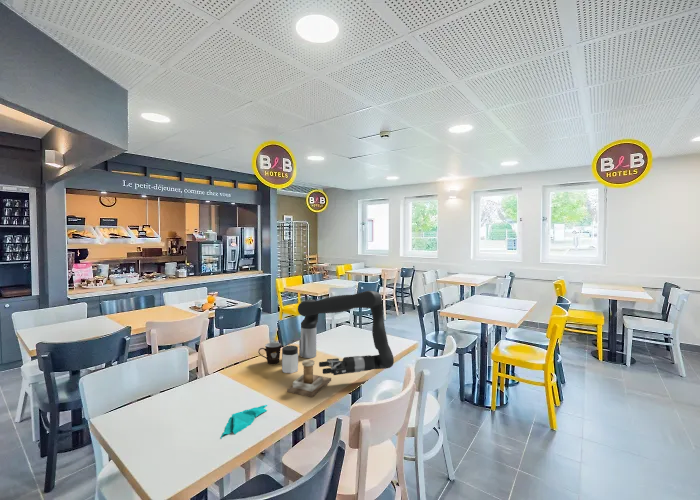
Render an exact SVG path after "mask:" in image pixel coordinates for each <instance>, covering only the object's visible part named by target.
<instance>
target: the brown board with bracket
mask: <svg viewBox="0 0 700 500" xmlns="http://www.w3.org/2000/svg"><path fill="white" fill-rule="evenodd" d="M303 381H304V373H303V374H302V375H301V376H299V377H298V378H296V379H295V380H294V381H292V385H291V386H290V387H288V388H287V390H286V391H287V393H292V394H296V395H301V396H305V397H309V398H313V397H315V396H316V395H317V394H318V393H319V392H320V391H321V390H322V389H324V388H325V387H326V386H327V385H328V384H329V383H330V382H331V381H332V377H328V376H323V375H317V374H313V381H314V382H313V383H312V384H307V383H302V382H303Z"/></svg>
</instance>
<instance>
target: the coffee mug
mask: <svg viewBox="0 0 700 500" xmlns="http://www.w3.org/2000/svg"><path fill="white" fill-rule="evenodd" d="M264 346H265V348H264V347H261V348H259V349H258V355H260V356H261V357H262V358H264V359H266V363H267V364H268V365H277V364H279V363H280V357H281V351H282V349H281V348H282V343H281V342H268V343H266V344H265V345H264ZM261 350H264V351H265V353H266V354H265V355H266V356H264V355H263V354H261V353H260V351H261Z"/></svg>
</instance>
